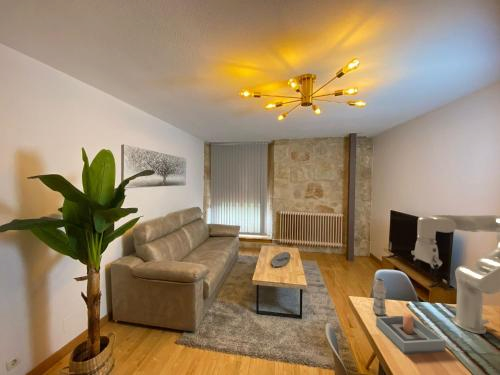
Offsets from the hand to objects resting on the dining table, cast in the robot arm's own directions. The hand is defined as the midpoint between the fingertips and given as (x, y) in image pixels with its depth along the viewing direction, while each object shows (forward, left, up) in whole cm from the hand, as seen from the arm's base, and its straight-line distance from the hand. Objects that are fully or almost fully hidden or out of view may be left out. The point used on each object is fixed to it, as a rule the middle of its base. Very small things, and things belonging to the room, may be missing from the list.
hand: (425, 271), depth 114 cm
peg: (+18, +10, -27) cm, 34 cm away
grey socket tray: (+18, +10, -28) cm, 35 cm away
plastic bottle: (+19, -9, -28) cm, 35 cm away
